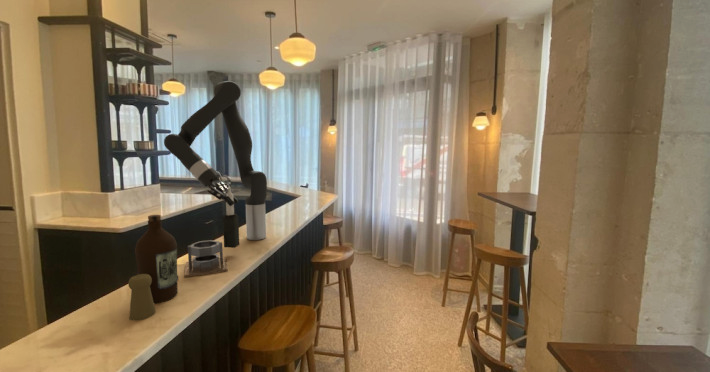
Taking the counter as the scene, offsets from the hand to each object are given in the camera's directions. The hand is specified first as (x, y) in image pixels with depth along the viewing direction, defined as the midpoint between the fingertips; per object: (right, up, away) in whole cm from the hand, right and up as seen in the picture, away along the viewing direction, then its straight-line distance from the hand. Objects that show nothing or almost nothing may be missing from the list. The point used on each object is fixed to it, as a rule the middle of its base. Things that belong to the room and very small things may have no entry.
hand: (234, 203), depth 132 cm
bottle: (-2, -18, +3) cm, 18 cm away
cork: (-8, -28, -45) cm, 53 cm away
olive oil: (-10, -27, -35) cm, 45 cm away
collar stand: (-6, -23, -11) cm, 27 cm away
